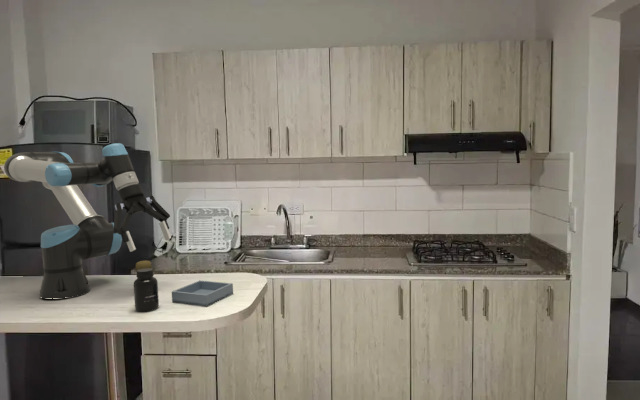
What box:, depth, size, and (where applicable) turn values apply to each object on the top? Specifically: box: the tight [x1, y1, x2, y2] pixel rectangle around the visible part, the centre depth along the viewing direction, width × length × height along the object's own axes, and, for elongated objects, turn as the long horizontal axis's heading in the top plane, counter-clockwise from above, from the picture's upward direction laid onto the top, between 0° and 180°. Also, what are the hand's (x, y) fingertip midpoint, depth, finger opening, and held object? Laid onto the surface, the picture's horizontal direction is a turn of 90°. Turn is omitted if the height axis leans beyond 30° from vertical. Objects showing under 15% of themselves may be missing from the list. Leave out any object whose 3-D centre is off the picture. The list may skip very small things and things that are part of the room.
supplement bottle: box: [133, 268, 160, 313], centre depth 136 cm, size 7×7×12 cm
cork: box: [135, 260, 152, 279], centre depth 154 cm, size 6×6×11 cm
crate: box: [171, 280, 234, 308], centre depth 145 cm, size 14×14×4 cm
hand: (151, 244), depth 152 cm, fingers open, 13 cm apart
